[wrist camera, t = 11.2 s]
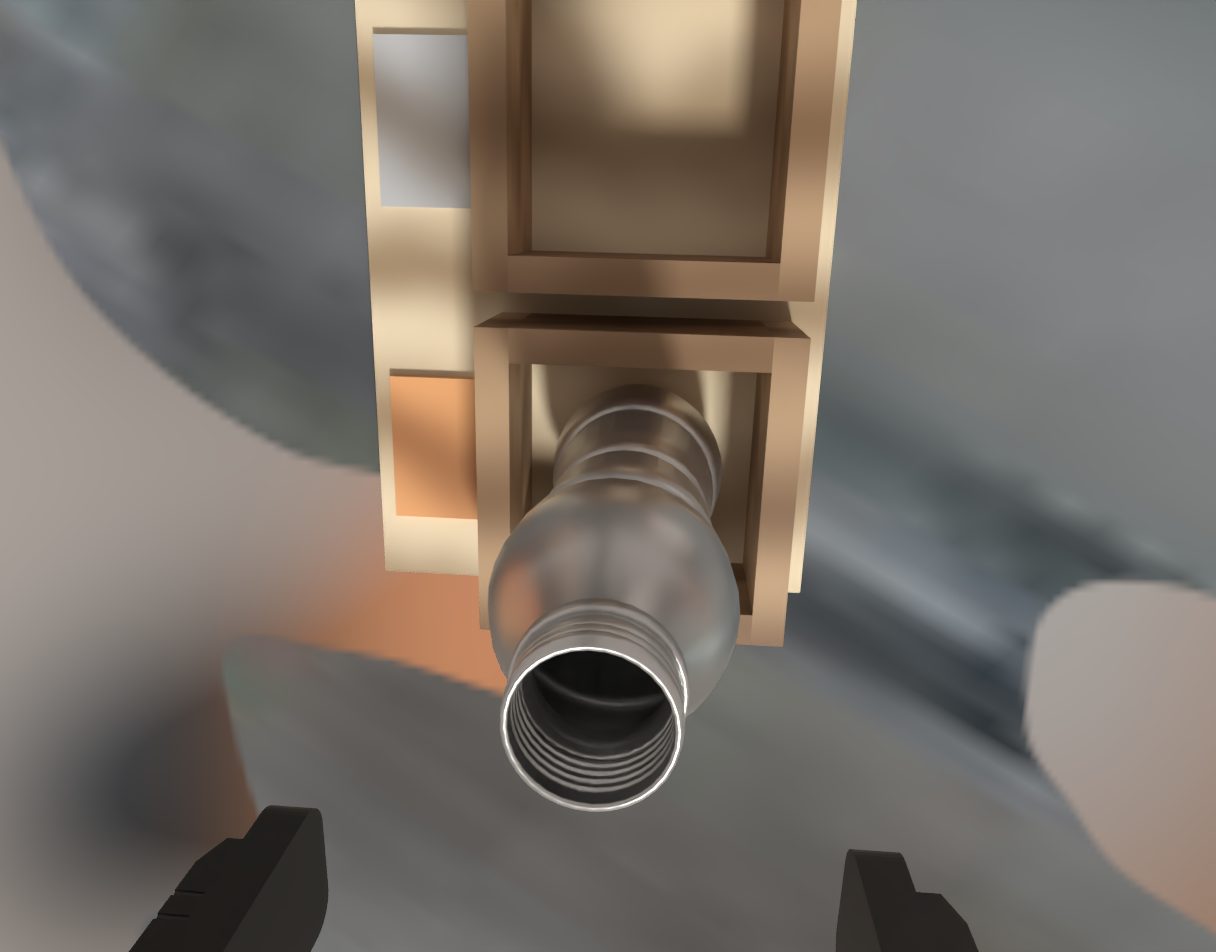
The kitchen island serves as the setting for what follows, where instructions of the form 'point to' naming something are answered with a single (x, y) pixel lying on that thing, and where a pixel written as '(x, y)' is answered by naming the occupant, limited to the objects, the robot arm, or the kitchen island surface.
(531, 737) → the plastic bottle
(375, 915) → the kitchen island surface
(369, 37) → the socket board
